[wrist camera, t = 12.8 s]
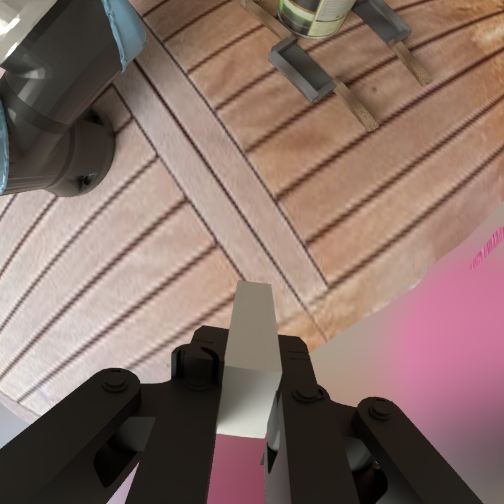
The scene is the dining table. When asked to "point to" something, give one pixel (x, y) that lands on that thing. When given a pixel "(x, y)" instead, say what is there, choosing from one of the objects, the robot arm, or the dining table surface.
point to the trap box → (314, 78)
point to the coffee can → (313, 16)
